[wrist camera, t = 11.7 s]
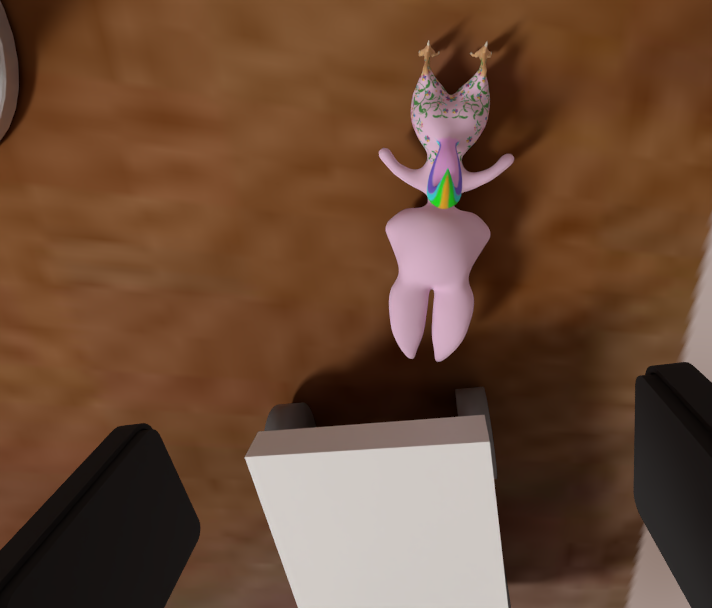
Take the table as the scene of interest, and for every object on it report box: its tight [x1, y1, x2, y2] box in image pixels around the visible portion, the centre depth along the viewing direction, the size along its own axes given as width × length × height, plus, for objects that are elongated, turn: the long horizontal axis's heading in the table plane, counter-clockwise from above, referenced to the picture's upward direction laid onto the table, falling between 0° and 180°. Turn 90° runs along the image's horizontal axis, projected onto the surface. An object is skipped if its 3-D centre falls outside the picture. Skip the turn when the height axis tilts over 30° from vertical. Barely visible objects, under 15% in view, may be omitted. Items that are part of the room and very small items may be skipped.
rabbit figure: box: [379, 40, 514, 362], centre depth 21 cm, size 6×6×15 cm
